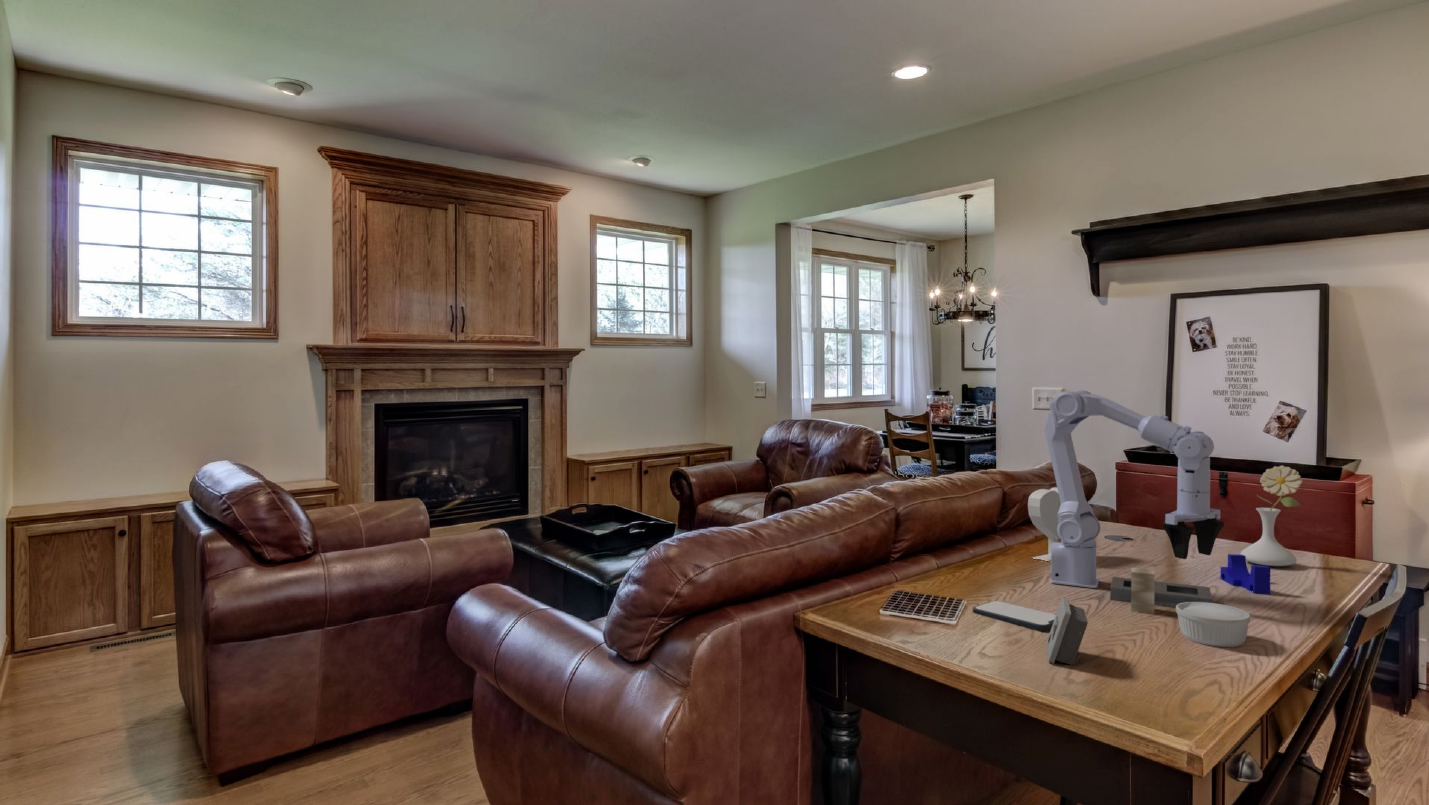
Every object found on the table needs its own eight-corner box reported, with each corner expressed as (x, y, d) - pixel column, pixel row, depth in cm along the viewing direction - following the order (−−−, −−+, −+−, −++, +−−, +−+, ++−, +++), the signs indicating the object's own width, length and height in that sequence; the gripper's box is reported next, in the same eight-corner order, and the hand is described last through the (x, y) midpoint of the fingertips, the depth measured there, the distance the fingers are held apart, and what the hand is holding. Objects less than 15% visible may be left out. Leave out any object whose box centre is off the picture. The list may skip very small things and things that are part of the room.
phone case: (969, 615, 151) (1044, 635, 138) (969, 607, 151) (1044, 626, 138) (995, 607, 156) (1069, 625, 143) (995, 599, 156) (1069, 617, 143)
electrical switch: (1046, 645, 132) (1051, 594, 131) (1078, 652, 130) (1084, 600, 129) (1048, 665, 123) (1054, 610, 122) (1082, 672, 121) (1089, 616, 120)
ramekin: (1180, 624, 142) (1180, 597, 142) (1252, 637, 135) (1252, 608, 135) (1171, 641, 133) (1171, 611, 133) (1247, 655, 126) (1247, 624, 126)
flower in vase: (1229, 561, 189) (1230, 463, 188) (1256, 556, 193) (1257, 461, 193) (1287, 573, 177) (1288, 468, 176) (1314, 568, 182) (1315, 466, 181)
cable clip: (1220, 579, 173) (1220, 554, 173) (1242, 580, 172) (1242, 554, 172) (1246, 594, 161) (1247, 566, 161) (1270, 595, 161) (1270, 567, 160)
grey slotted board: (1110, 599, 158) (1110, 587, 158) (1112, 587, 167) (1112, 576, 167) (1212, 611, 149) (1212, 599, 149) (1209, 599, 158) (1209, 587, 157)
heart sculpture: (1063, 551, 202) (1063, 485, 201) (1080, 555, 197) (1080, 487, 197) (1025, 559, 194) (1025, 490, 194) (1042, 563, 190) (1042, 492, 189)
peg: (1131, 611, 150) (1131, 571, 150) (1131, 606, 154) (1131, 567, 153) (1154, 614, 148) (1154, 574, 148) (1154, 608, 151) (1154, 569, 151)
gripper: (1189, 496, 147) (1188, 564, 148) (1235, 490, 153) (1235, 556, 153) (1155, 491, 154) (1155, 556, 154) (1201, 486, 159) (1200, 549, 160)
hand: (1192, 556), depth 154 cm, fingers open, 7 cm apart
